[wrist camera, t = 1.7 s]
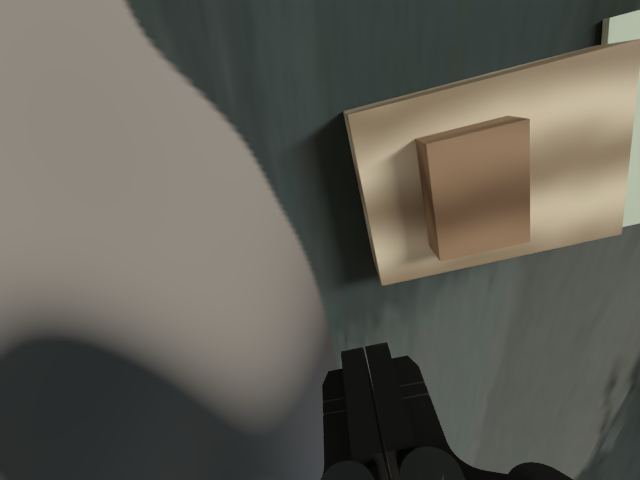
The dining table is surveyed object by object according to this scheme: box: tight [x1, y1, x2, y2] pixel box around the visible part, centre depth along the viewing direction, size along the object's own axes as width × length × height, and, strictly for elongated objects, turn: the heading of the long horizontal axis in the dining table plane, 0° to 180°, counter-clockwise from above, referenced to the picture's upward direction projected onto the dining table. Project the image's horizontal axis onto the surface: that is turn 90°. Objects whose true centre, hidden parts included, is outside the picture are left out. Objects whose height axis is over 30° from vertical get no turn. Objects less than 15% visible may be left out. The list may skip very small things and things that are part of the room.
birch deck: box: [343, 39, 640, 286], centre depth 26 cm, size 13×18×4 cm
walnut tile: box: [415, 116, 530, 261], centre depth 23 cm, size 8×6×2 cm
